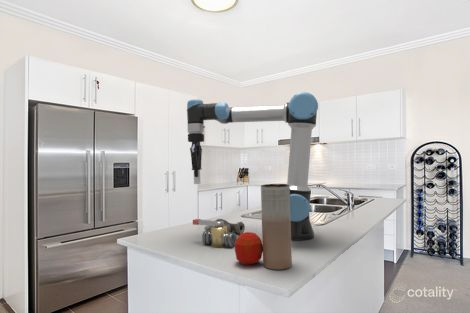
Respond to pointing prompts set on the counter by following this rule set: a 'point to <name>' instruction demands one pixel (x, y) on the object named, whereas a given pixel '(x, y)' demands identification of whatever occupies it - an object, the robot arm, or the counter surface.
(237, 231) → the pipe
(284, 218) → the vase
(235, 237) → the valve pipe
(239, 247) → the apple
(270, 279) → the counter surface
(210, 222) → the lever
